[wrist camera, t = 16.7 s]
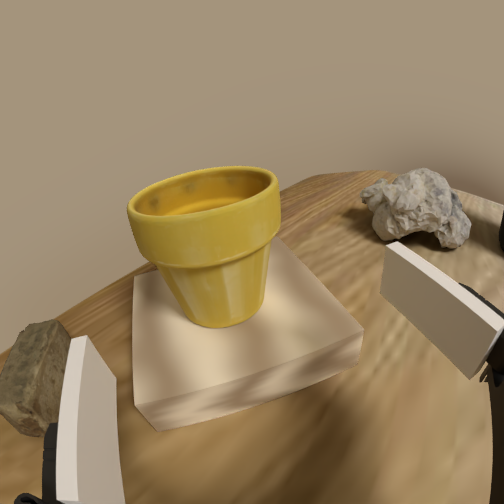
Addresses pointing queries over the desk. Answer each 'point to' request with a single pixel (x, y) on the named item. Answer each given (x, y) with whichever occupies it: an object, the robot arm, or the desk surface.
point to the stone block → (35, 378)
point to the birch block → (237, 347)
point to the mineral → (417, 208)
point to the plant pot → (210, 239)
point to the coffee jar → (502, 233)
